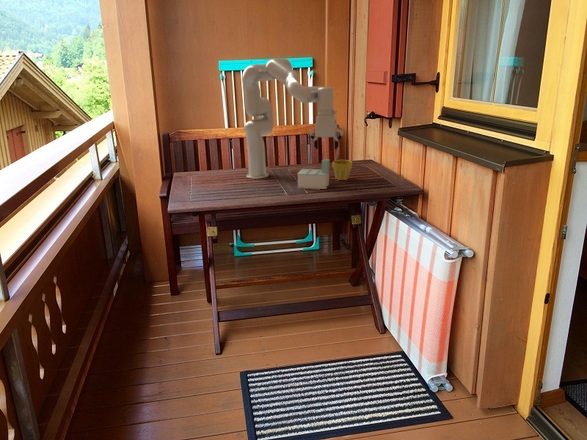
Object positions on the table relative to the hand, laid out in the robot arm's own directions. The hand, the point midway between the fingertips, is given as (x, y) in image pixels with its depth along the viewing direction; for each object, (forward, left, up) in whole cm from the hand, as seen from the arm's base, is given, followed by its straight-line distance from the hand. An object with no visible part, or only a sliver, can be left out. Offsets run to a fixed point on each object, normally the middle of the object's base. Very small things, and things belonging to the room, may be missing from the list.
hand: (326, 148), depth 226 cm
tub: (0, -7, -20) cm, 21 cm away
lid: (0, -6, -14) cm, 15 cm away
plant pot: (-17, +5, -20) cm, 27 cm away
